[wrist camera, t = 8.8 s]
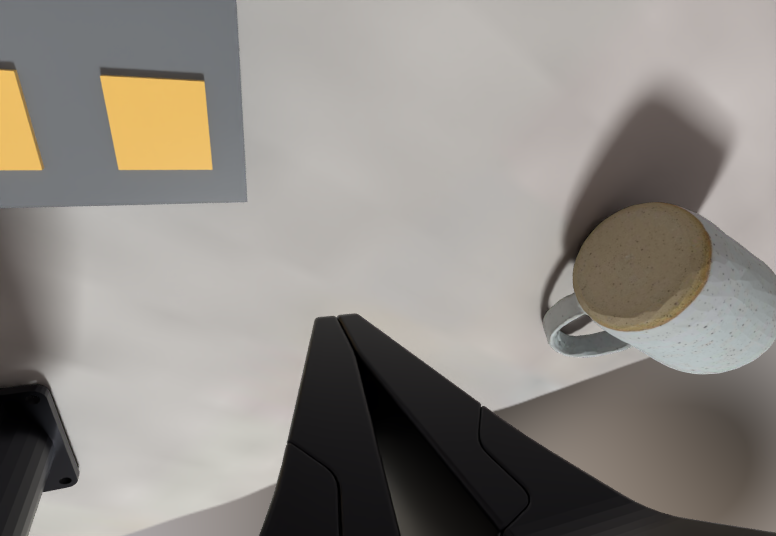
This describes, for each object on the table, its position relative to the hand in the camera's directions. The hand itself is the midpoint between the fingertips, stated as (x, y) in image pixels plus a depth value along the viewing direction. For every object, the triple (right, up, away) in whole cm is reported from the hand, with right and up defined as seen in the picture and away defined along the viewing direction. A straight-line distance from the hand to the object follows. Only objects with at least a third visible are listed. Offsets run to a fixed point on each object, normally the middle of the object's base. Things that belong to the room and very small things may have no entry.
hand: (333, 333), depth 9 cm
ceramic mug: (+14, +1, +19) cm, 24 cm away
